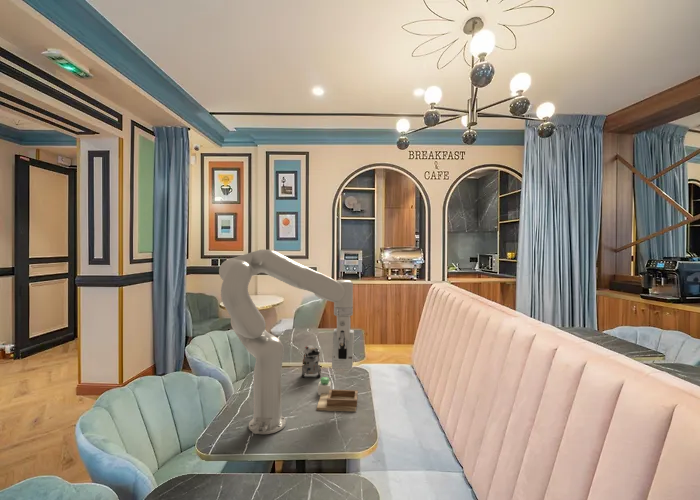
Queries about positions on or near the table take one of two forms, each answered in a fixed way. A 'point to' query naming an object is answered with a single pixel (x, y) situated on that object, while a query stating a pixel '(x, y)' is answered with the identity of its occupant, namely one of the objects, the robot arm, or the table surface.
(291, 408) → the table surface
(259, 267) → the robot arm
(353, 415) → the table surface
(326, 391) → the console
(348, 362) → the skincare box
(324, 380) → the button
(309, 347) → the figurine
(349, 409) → the wooden display tray
